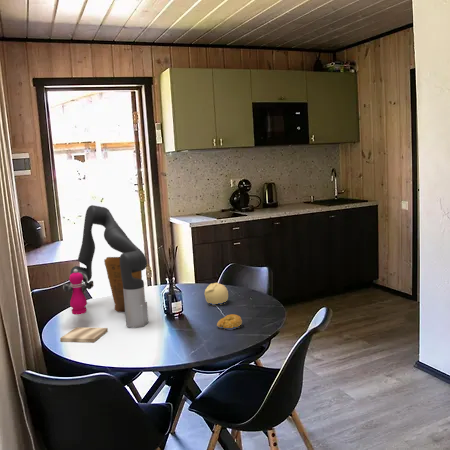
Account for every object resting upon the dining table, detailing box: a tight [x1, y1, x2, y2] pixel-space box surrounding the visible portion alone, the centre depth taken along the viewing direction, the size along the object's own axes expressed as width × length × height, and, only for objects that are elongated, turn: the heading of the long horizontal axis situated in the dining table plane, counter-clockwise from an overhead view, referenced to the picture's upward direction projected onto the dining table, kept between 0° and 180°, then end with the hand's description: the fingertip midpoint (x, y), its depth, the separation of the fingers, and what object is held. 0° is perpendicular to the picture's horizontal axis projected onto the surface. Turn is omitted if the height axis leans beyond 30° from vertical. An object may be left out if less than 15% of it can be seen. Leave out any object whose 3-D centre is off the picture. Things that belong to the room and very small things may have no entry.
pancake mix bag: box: [103, 256, 143, 313], centre depth 234 cm, size 7×19×28 cm, turn 72°
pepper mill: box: [68, 269, 88, 316], centre depth 213 cm, size 7×7×20 cm
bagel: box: [216, 313, 243, 328], centre depth 206 cm, size 10×11×5 cm
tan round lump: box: [204, 282, 229, 304], centre depth 240 cm, size 12×12×11 cm
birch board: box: [60, 326, 109, 343], centre depth 203 cm, size 15×13×2 cm
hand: (76, 290), depth 211 cm, fingers closed on pepper mill, 4 cm apart
